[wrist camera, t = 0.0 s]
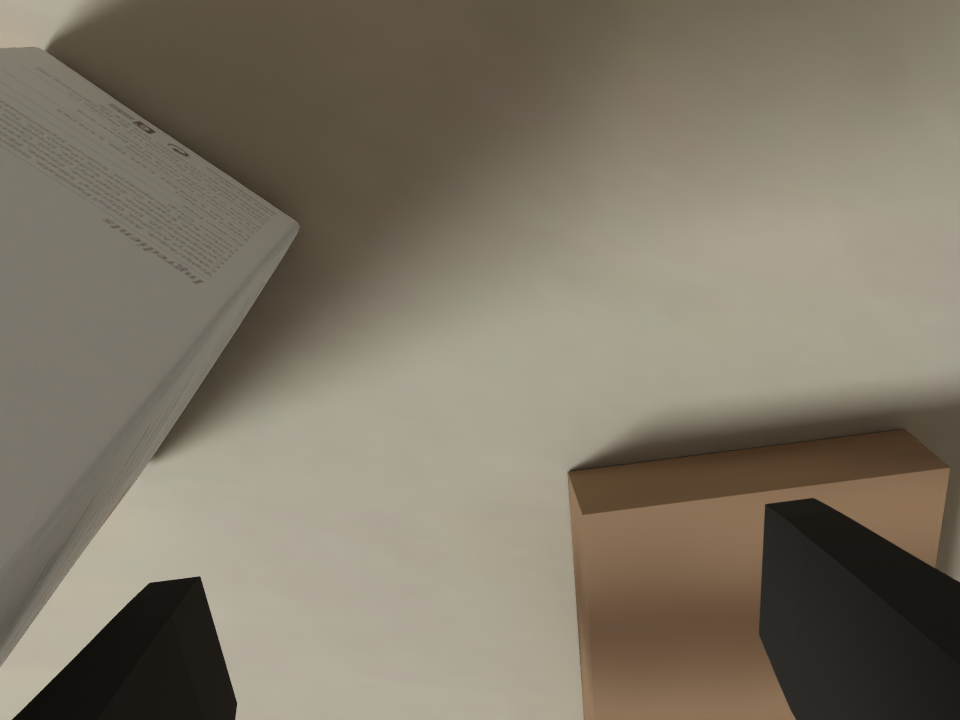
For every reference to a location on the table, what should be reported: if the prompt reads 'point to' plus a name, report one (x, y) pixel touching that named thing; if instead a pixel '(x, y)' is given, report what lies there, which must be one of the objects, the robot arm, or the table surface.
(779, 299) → the table surface
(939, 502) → the plinth
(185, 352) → the small box
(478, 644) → the table surface
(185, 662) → the robot arm
